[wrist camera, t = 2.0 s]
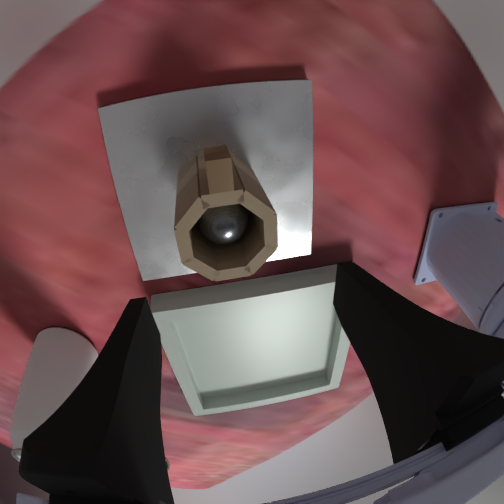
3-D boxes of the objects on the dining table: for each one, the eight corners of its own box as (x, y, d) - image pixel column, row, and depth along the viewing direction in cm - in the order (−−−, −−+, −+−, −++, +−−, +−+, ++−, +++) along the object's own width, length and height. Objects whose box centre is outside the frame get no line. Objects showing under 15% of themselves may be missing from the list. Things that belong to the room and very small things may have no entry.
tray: (353, 261, 25) (363, 275, 23) (332, 373, 34) (338, 387, 33) (151, 294, 23) (149, 313, 22) (193, 400, 32) (194, 415, 31)
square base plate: (307, 79, 17) (355, 90, 12) (307, 248, 24) (339, 304, 18) (101, 106, 15) (63, 128, 10) (144, 274, 22) (136, 339, 17)
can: (24, 333, 23) (-9, 446, 14) (70, 316, 23) (40, 447, 13) (65, 373, 27) (49, 479, 17) (112, 361, 27) (103, 480, 17)
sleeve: (248, 123, 17) (274, 152, 12) (255, 214, 20) (278, 271, 15) (170, 134, 17) (161, 168, 12) (186, 224, 20) (187, 286, 15)
